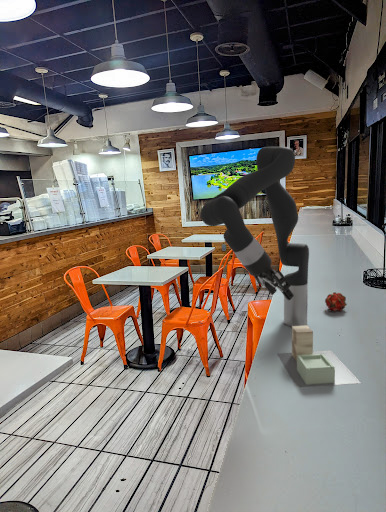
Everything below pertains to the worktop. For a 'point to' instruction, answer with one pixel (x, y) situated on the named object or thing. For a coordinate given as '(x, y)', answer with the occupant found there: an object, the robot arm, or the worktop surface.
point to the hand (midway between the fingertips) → (282, 295)
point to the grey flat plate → (340, 378)
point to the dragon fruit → (335, 301)
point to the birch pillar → (302, 341)
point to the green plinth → (315, 369)
